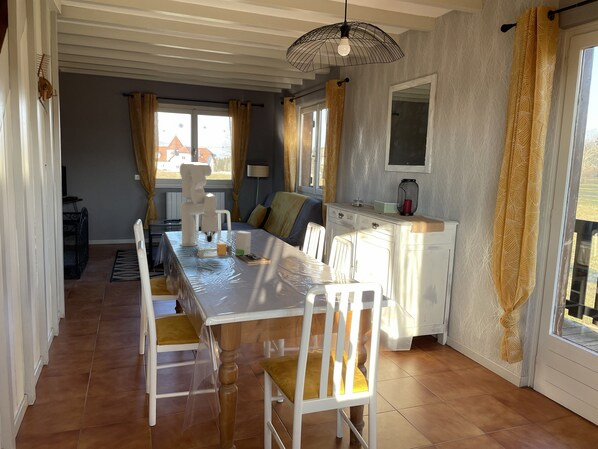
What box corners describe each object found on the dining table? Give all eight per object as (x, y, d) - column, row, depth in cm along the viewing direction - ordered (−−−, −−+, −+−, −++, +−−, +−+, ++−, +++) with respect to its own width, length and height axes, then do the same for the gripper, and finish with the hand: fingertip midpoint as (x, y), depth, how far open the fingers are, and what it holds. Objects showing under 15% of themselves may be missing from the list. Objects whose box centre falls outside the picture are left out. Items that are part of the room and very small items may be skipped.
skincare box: (234, 255, 296) (235, 231, 294) (240, 253, 302) (240, 230, 300) (245, 256, 293) (245, 233, 290) (250, 254, 298) (251, 231, 296)
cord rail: (197, 255, 292) (197, 245, 292) (228, 253, 302) (229, 243, 301) (200, 258, 283) (200, 248, 283) (233, 256, 293) (233, 246, 292)
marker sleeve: (216, 253, 295) (216, 243, 294) (224, 253, 298) (224, 242, 297) (218, 255, 291) (218, 244, 290) (226, 254, 293) (226, 244, 292)
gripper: (219, 213, 294) (219, 240, 297) (197, 213, 288) (196, 241, 291) (222, 214, 287) (222, 242, 290) (199, 215, 281) (199, 243, 284)
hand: (209, 241), depth 291 cm, fingers closed
